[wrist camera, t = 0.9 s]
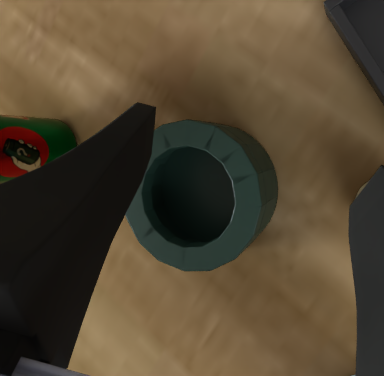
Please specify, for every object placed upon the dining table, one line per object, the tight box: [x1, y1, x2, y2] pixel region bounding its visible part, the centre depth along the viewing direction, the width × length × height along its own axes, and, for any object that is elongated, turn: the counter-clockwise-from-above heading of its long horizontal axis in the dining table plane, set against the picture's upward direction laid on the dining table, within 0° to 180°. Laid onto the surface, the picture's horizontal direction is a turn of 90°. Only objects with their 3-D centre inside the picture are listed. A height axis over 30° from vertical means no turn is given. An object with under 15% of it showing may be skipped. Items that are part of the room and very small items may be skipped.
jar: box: [125, 120, 278, 271], centre depth 23 cm, size 9×9×5 cm
